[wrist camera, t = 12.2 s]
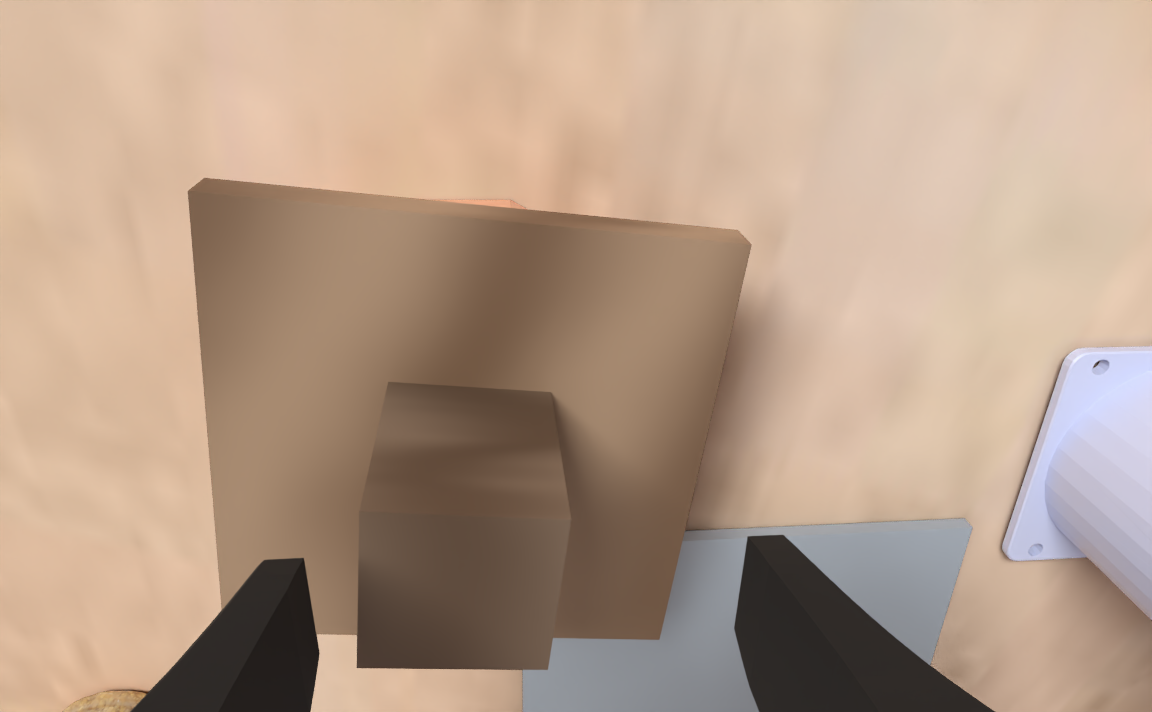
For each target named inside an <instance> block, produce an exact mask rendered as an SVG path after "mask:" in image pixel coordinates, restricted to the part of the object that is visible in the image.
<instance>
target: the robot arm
mask: <svg viewBox="0 0 1152 712" xmlns="http://www.w3.org/2000/svg"><path fill="white" fill-rule="evenodd" d="M1099 360H1100V362H1099V364H1098V365H1097V366H1096V367H1094V368H1093V366H1094V365H1095V363H1097V362H1098V361H1099ZM1031 546H1032V547H1031ZM1002 550H1003V552H1004V553H1005V554H1006V556H1007V557H1008V558H1009V559H1011V560H1013V561H1027V560H1046V559H1066V558H1085V557H1088V558H1089V559H1090V560H1091V561H1092V562H1093V563H1094V564H1095V565H1096V566H1097V567H1098V568H1099V569H1100V570H1101V571H1102V572H1103V573H1104V574H1105V575H1106V576H1107V577H1108V578H1109V579H1110V580H1111V581H1112V582H1113V583H1114V584H1115V585H1116V586H1117V587H1118V588H1119V589H1120V590H1121V591H1122V592H1123V593H1124V594H1125V595H1126V596H1127V597H1128V598H1129V599H1130V600H1131V601H1132V602H1133V603H1134V604H1135V605H1136V606H1137V607H1138V608H1139V609H1141V610H1142V611H1143V612H1144V613H1145V614H1146V615H1147V616H1148V617H1149V618H1150V619H1151V620H1152V346H1144V347H1097V348H1080V349H1076V350H1074V351H1072V352H1071V353H1070V354H1069V355H1068V356H1067V357H1066V358H1065V360H1064V362H1063V364H1062V367H1061V370H1060V373H1059V376H1058V379H1057V382H1056V385H1055V388H1054V391H1053V394H1052V397H1051V400H1050V403H1049V406H1048V409H1047V412H1046V415H1045V418H1044V421H1043V424H1042V427H1041V430H1040V433H1039V436H1038V439H1037V442H1036V445H1035V448H1034V451H1033V454H1032V457H1031V460H1030V463H1029V466H1028V469H1027V472H1026V475H1025V478H1024V481H1023V484H1022V487H1021V490H1020V493H1019V496H1018V499H1017V502H1016V505H1015V508H1014V511H1013V514H1012V517H1011V520H1010V523H1009V526H1008V529H1007V532H1006V535H1005V538H1004V541H1003V544H1002ZM734 630H735V634H736V638H737V642H738V646H739V650H740V654H741V658H742V662H743V665H744V669H745V673H746V676H747V680H748V684H749V687H750V690H751V692H752V695H753V697H754V700H755V703H756V705H757V708H758V710H759V712H995V711H993V710H992V709H990V708H989V707H987V706H986V705H984V704H983V703H981V702H980V701H979V700H977V699H976V698H974V697H973V696H971V695H970V694H969V693H967V692H966V691H964V690H963V689H961V688H960V687H959V686H957V685H956V684H954V683H953V682H952V681H950V680H949V679H947V678H946V677H945V676H943V675H942V674H941V673H939V672H938V671H937V670H935V669H934V668H933V667H931V666H930V665H929V664H928V663H926V662H925V661H924V660H923V659H921V658H920V657H919V656H918V655H916V654H915V653H914V652H913V651H911V650H910V649H909V648H908V647H906V646H905V645H904V644H903V643H901V642H900V641H899V640H898V639H896V638H895V637H894V636H893V635H892V634H891V633H889V632H888V631H887V630H886V629H885V628H884V627H882V626H881V625H880V624H879V623H878V622H877V621H875V620H874V619H873V618H872V617H871V616H870V615H869V614H867V613H866V612H865V611H864V610H863V609H862V608H861V607H860V606H859V605H857V604H856V603H855V602H854V601H853V600H852V599H851V598H850V597H849V596H848V595H846V594H845V593H844V592H843V591H842V590H841V589H840V588H839V587H838V586H837V585H836V584H835V583H834V582H833V581H831V580H830V579H829V578H828V577H827V576H826V575H825V574H824V573H823V572H822V571H821V570H820V569H819V568H818V567H817V566H816V565H815V564H814V563H813V562H812V561H810V560H809V559H808V558H807V557H806V556H805V555H804V554H803V553H802V552H801V551H800V550H799V549H798V548H797V547H796V546H795V545H794V544H793V543H792V542H791V541H790V540H788V539H787V538H786V537H785V536H784V535H763V536H748V537H747V544H746V551H745V557H744V564H743V571H742V578H741V584H740V591H739V598H738V605H737V612H736V618H735V625H734ZM318 660H319V648H318V642H317V635H316V629H315V623H314V617H313V611H312V605H311V598H310V592H309V586H308V580H307V574H306V568H305V561H304V558H290V559H269V560H263V561H262V562H261V563H260V564H259V565H258V566H257V568H256V569H255V570H254V571H253V572H252V574H251V575H250V576H249V577H248V579H247V580H246V581H245V582H244V584H243V585H242V586H241V587H240V589H239V590H238V591H237V592H236V594H235V595H234V596H233V597H232V598H231V600H230V601H229V602H228V603H227V605H226V606H225V607H224V608H223V609H222V611H221V612H220V613H219V614H218V615H217V617H216V618H215V619H214V620H213V621H212V623H211V624H210V625H209V626H208V627H207V628H206V630H205V631H204V632H203V633H202V634H201V635H200V636H199V638H198V639H197V640H196V641H195V642H194V643H193V644H192V646H191V647H190V648H189V649H188V650H187V651H186V652H185V654H184V655H183V656H182V657H181V658H180V659H179V660H178V662H177V663H176V664H175V665H174V666H173V667H172V668H171V669H170V670H169V671H168V672H167V674H166V675H165V676H164V677H163V678H162V679H161V680H160V681H159V682H158V683H157V684H156V685H155V686H154V687H153V688H152V689H151V690H150V691H149V692H148V693H147V694H146V695H145V696H144V697H143V699H142V700H141V701H140V702H139V703H138V704H137V705H136V706H135V707H134V708H133V709H132V710H131V711H130V712H310V710H311V704H312V698H313V692H314V686H315V680H316V673H317V666H318Z"/></svg>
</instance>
